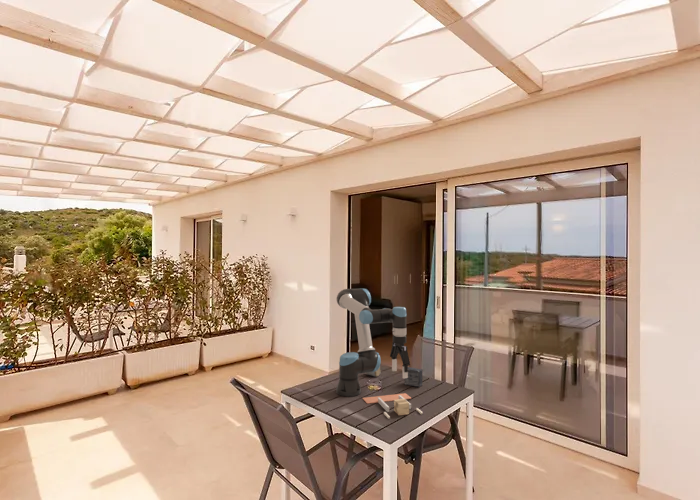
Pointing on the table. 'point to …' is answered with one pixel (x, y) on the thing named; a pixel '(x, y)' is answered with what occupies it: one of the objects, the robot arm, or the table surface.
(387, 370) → the table surface
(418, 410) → the strips
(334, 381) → the table surface
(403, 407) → the maple block
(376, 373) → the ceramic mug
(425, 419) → the table surface
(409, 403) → the guide rails
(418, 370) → the small box
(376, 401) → the mat
